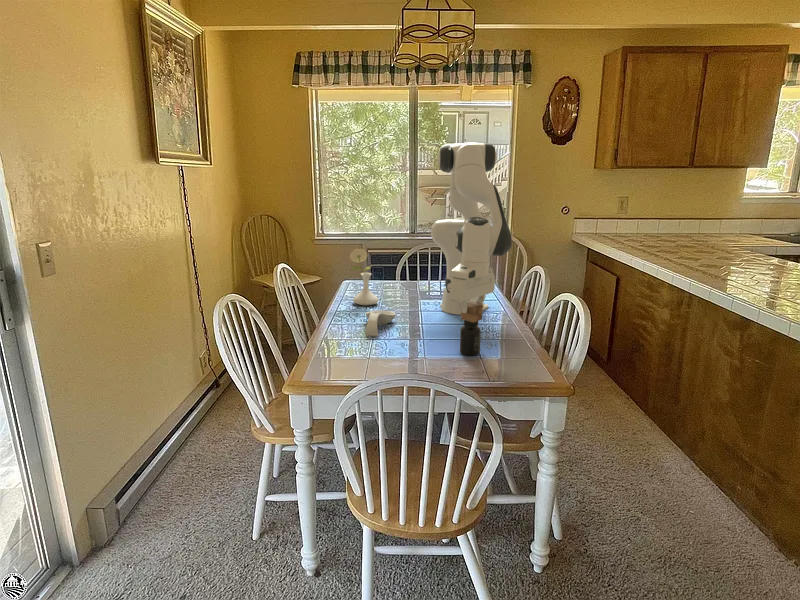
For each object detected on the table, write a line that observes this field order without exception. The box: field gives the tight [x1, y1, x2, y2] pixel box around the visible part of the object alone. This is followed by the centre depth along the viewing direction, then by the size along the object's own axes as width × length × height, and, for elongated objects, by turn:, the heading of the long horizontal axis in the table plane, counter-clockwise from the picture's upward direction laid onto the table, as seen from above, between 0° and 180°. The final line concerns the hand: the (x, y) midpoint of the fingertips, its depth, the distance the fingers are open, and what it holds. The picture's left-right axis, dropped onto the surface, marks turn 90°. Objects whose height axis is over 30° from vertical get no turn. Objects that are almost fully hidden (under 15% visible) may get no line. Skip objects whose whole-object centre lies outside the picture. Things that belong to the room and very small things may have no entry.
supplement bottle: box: [459, 320, 482, 357], centre depth 168 cm, size 7×7×12 cm
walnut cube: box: [460, 302, 484, 322], centre depth 166 cm, size 5×5×5 cm
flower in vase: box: [348, 248, 380, 306], centre depth 223 cm, size 13×11×25 cm
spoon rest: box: [364, 310, 396, 337], centre depth 194 cm, size 24×12×7 cm, turn 172°
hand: (472, 310), depth 166 cm, fingers open, 6 cm apart
